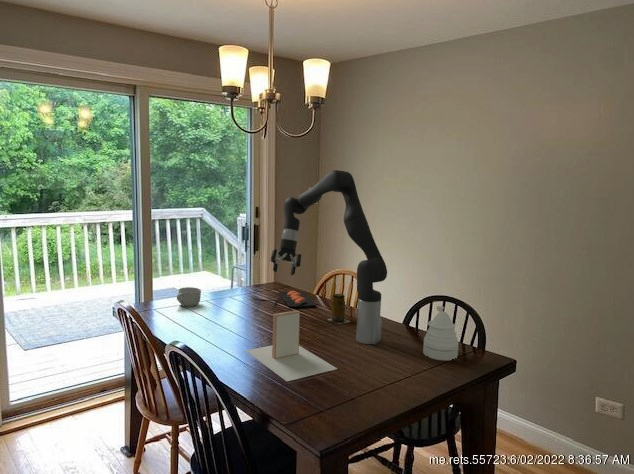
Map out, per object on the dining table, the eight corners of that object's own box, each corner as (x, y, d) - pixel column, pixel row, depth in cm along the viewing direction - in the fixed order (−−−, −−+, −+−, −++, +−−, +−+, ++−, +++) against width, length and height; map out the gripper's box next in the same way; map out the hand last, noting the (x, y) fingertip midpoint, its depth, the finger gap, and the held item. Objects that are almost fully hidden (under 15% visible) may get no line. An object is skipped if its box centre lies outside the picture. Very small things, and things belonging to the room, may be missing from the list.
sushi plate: (317, 308, 239) (317, 301, 239) (257, 311, 231) (257, 303, 230) (302, 294, 267) (302, 287, 266) (248, 296, 258) (248, 289, 258)
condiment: (338, 317, 225) (339, 292, 223) (351, 321, 218) (352, 296, 217) (326, 319, 220) (327, 294, 219) (339, 324, 214) (340, 298, 212)
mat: (245, 353, 177) (245, 350, 177) (292, 343, 188) (292, 341, 188) (286, 384, 152) (286, 381, 152) (337, 371, 163) (337, 368, 163)
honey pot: (416, 349, 186) (419, 304, 184) (443, 346, 191) (446, 302, 189) (436, 362, 175) (440, 314, 172) (464, 358, 180) (468, 311, 177)
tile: (272, 357, 171) (273, 314, 169) (296, 352, 177) (297, 310, 174) (274, 359, 169) (275, 315, 167) (298, 354, 175) (300, 311, 173)
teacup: (191, 301, 243) (191, 285, 242) (205, 305, 237) (205, 289, 236) (168, 306, 232) (168, 290, 231) (182, 311, 225) (182, 294, 224)
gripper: (278, 236, 220) (272, 271, 218) (306, 242, 226) (300, 276, 224) (272, 237, 227) (266, 270, 225) (299, 242, 233) (294, 275, 231)
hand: (283, 273), depth 225 cm, fingers open, 8 cm apart
